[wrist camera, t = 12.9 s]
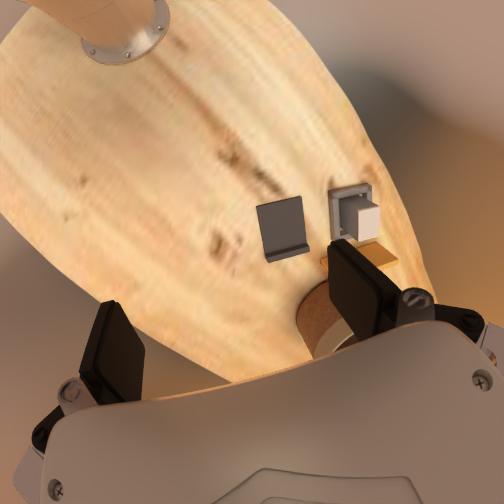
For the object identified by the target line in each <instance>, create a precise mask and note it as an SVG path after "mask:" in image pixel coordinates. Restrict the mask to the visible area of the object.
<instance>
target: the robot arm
mask: <svg viewBox="0 0 504 504" xmlns="http://www.w3.org/2000/svg"><path fill="white" fill-rule="evenodd" d="M18 1H22V2H25V3H28V4H30V5H32V6H35V7H37V8H38V9H40V10H42V11H44V12H45V13H47V14H48V15H50V16H52V17H53V18H55V19H56V20H57V21H59V22H60V23H62V24H63V25H65V26H66V27H68V28H69V29H71V30H72V31H74V32H75V33H77V34H78V35H80V36H81V37H82V45H83V48H84V50H85V52H86V54H87V55H88V56H89V57H90V58H92V59H93V60H95V61H97V62H99V63H102V64H107V65H118V64H125V63H128V62H131V61H134V60H136V59H138V58H140V57H142V56H143V55H145V54H147V53H148V52H149V51H151V50H152V49H153V48H154V47H155V46H156V45H157V44H158V43H159V42H160V41H161V40H162V38H163V36H164V35H165V33H166V31H167V29H168V26H169V21H170V12H169V8H168V5H167V3H166V1H165V0H157V1H156V0H18ZM160 29H163V30H162V31H159V30H160ZM94 52H96V53H95V54H94ZM129 55H131V57H130V58H128V56H129ZM327 253H328V278H329V297H330V300H331V302H332V303H333V305H334V306H335V308H336V309H337V310H338V312H339V313H340V315H341V316H342V317H343V319H344V320H345V322H346V323H347V324H348V326H349V327H350V329H351V330H352V331H353V333H354V334H355V336H356V337H357V339H358V340H359V341H360V342H358V343H356V344H353V345H351V346H348V347H345V348H343V349H340V350H338V351H335V352H332V353H330V354H327V355H324V356H321V357H318V358H316V359H313V360H310V361H307V362H304V363H301V364H298V365H295V366H292V367H288V368H285V369H282V370H279V371H275V372H272V373H268V374H265V375H261V376H258V377H254V378H250V379H247V380H243V381H239V382H235V383H231V384H227V385H222V386H218V387H214V388H209V389H204V390H200V391H195V392H189V393H184V394H179V395H173V396H167V397H161V398H154V399H147V400H141V394H142V380H143V368H144V356H145V348H144V345H143V343H142V341H141V340H140V338H139V337H138V335H137V333H136V332H135V330H134V328H133V327H132V325H131V323H130V321H129V320H128V318H127V316H126V314H125V313H124V311H123V309H122V307H121V305H120V304H119V303H118V302H115V301H114V300H111V301H107V302H103V303H101V305H100V308H99V310H98V313H97V316H96V319H95V321H94V324H93V327H92V330H91V333H90V336H89V339H88V342H87V345H86V348H85V352H84V355H83V359H82V362H81V365H80V369H79V373H80V378H71V379H68V380H67V381H65V382H64V383H63V384H62V385H61V387H60V388H59V391H58V395H57V398H58V402H59V404H60V405H59V406H57V407H56V408H55V409H54V410H53V411H52V412H51V413H50V414H49V415H48V416H47V417H46V418H44V419H43V420H42V421H41V422H40V423H39V424H38V425H37V426H36V427H35V429H34V431H33V433H32V444H33V447H30V446H29V448H28V449H27V451H26V452H25V454H24V456H23V458H22V459H21V461H20V463H19V464H18V466H17V468H16V470H15V472H14V474H13V484H14V486H15V488H16V489H17V491H18V492H19V493H20V494H21V495H22V497H23V498H24V499H25V500H26V502H27V503H28V504H504V328H502V327H499V326H497V325H495V324H492V323H490V322H489V323H488V325H486V324H485V323H484V319H483V318H482V316H481V315H480V314H479V313H477V312H476V311H474V310H470V309H464V308H458V307H452V306H446V305H440V304H434V299H433V296H432V295H431V294H430V293H429V292H428V291H426V290H424V289H422V288H417V287H412V288H407V289H405V290H403V291H401V290H400V289H399V288H398V286H397V285H396V284H394V283H393V282H392V281H391V280H390V279H389V278H388V277H387V276H386V275H385V274H384V273H383V272H382V271H380V270H379V269H378V268H377V267H376V266H375V265H374V264H373V263H372V262H370V261H369V260H368V259H367V258H366V257H365V256H364V255H363V254H361V253H360V252H359V251H358V250H357V249H356V248H355V247H353V246H352V245H351V244H350V243H349V242H348V241H346V240H345V239H344V238H342V239H338V240H335V241H332V242H331V243H330V245H329V246H328V247H327Z"/></svg>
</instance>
